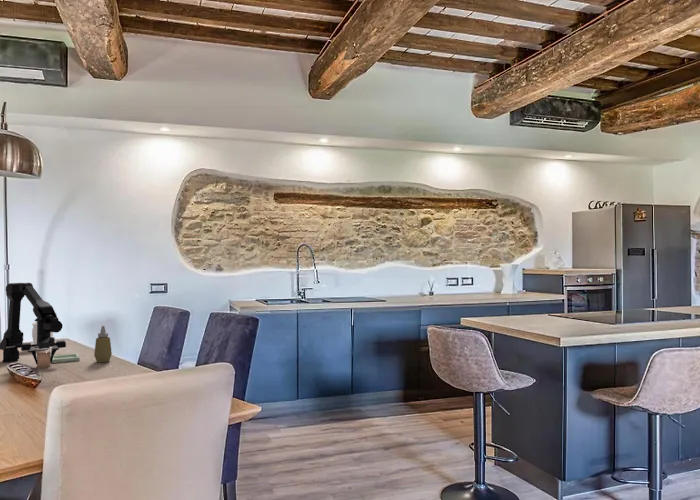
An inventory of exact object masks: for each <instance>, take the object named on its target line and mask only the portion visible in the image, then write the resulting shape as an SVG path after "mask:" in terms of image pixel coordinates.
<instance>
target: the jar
mask: <svg viewBox="0 0 700 500" xmlns="http://www.w3.org/2000/svg"><path fill="white" fill-rule="evenodd" d="M31 324H32V326H33V327H32V329H31V330H32V331H31V336H32V337H31V338H32V342H33V344H37V321H34V322H32V323H31ZM51 337H54V332H51ZM50 349H52V347H50V348H42V349H39V348H35V350H36V351H46V350H50Z"/></svg>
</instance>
